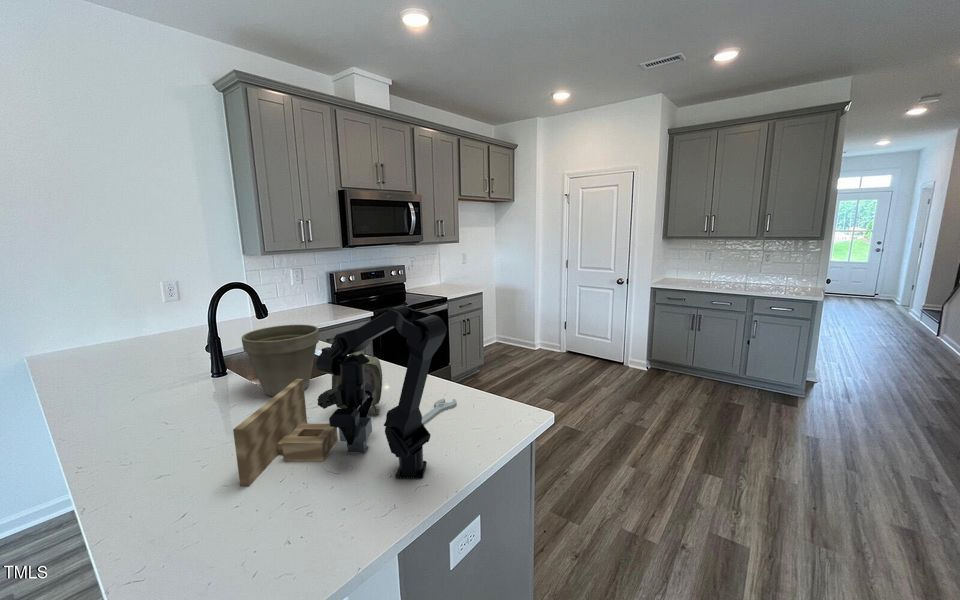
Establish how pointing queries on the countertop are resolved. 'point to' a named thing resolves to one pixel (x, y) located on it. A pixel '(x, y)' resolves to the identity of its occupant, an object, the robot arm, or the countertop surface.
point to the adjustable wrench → (438, 409)
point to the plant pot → (281, 355)
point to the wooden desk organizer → (280, 434)
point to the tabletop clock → (371, 374)
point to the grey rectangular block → (359, 436)
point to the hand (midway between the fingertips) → (356, 435)
